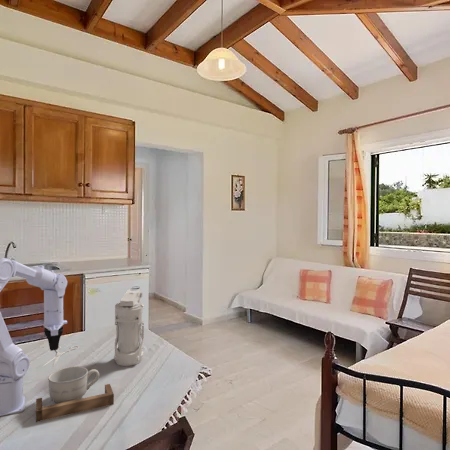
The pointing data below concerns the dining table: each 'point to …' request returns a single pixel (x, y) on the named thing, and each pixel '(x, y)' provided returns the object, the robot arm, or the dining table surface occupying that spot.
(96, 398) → the dock
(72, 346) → the scissors
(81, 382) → the teacup
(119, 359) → the lantern
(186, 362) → the dining table surface
